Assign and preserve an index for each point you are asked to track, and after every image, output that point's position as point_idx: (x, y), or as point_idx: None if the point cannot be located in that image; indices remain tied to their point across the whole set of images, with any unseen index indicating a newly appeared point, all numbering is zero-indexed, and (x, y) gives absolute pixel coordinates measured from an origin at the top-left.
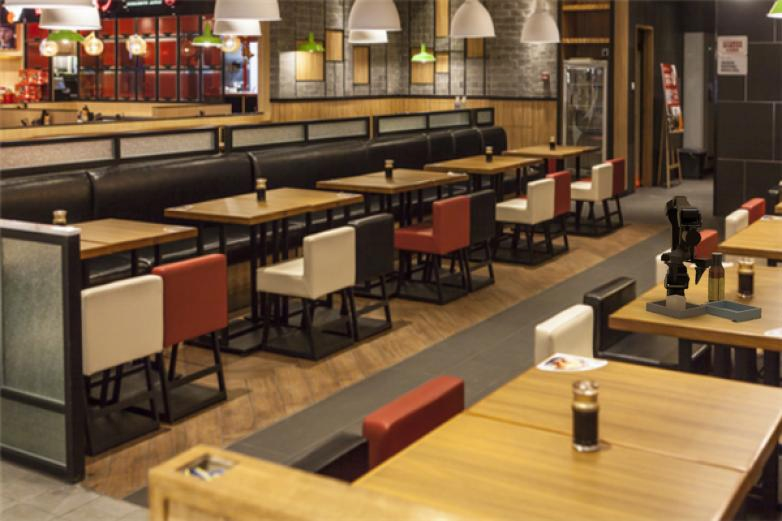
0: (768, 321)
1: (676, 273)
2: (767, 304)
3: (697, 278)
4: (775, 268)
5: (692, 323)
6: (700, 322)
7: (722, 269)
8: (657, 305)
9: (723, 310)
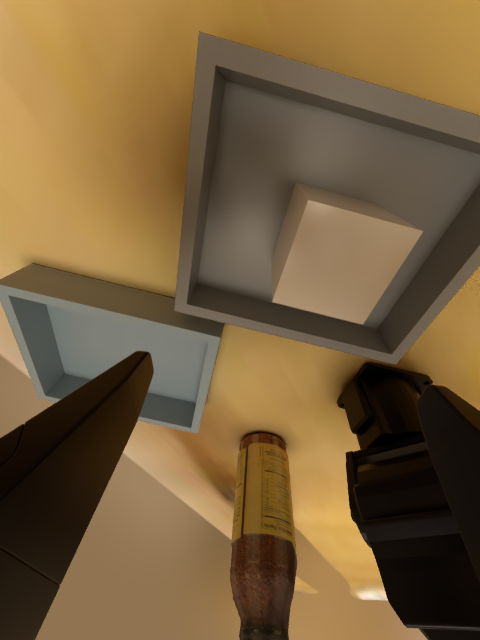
0: (8, 344)
1: (457, 501)
2: (163, 472)
3: (58, 401)
4: (294, 590)
5: (115, 49)
6: (109, 130)
7: (233, 593)
8: (458, 110)
9: (80, 300)
